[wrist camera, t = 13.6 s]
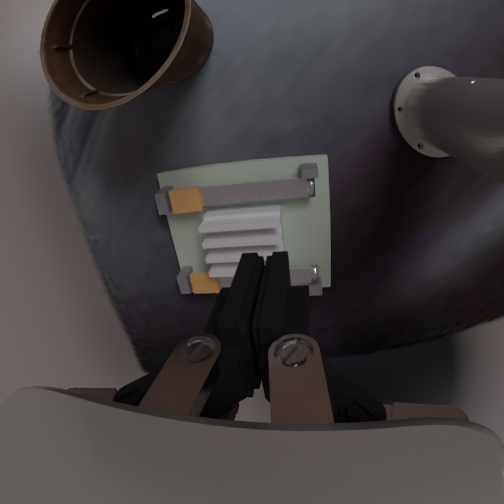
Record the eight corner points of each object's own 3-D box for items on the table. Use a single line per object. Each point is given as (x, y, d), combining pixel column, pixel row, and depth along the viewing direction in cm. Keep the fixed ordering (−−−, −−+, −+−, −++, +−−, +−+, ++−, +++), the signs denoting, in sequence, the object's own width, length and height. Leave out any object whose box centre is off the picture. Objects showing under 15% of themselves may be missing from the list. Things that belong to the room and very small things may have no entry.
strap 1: (313, 172, 38) (315, 176, 36) (315, 196, 39) (316, 201, 38) (172, 187, 40) (168, 191, 39) (177, 208, 42) (173, 213, 40)
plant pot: (144, 120, 38) (74, 143, 24) (100, 33, 32) (23, 25, 18) (250, 63, 33) (224, 45, 19) (198, -28, 27) (149, -78, 13)
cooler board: (326, 154, 38) (332, 166, 32) (329, 283, 47) (333, 309, 42) (159, 172, 42) (140, 186, 36) (188, 288, 51) (177, 313, 46)
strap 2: (318, 262, 44) (319, 268, 42) (318, 280, 45) (319, 287, 44) (192, 269, 46) (189, 275, 45) (196, 286, 48) (194, 293, 46)
